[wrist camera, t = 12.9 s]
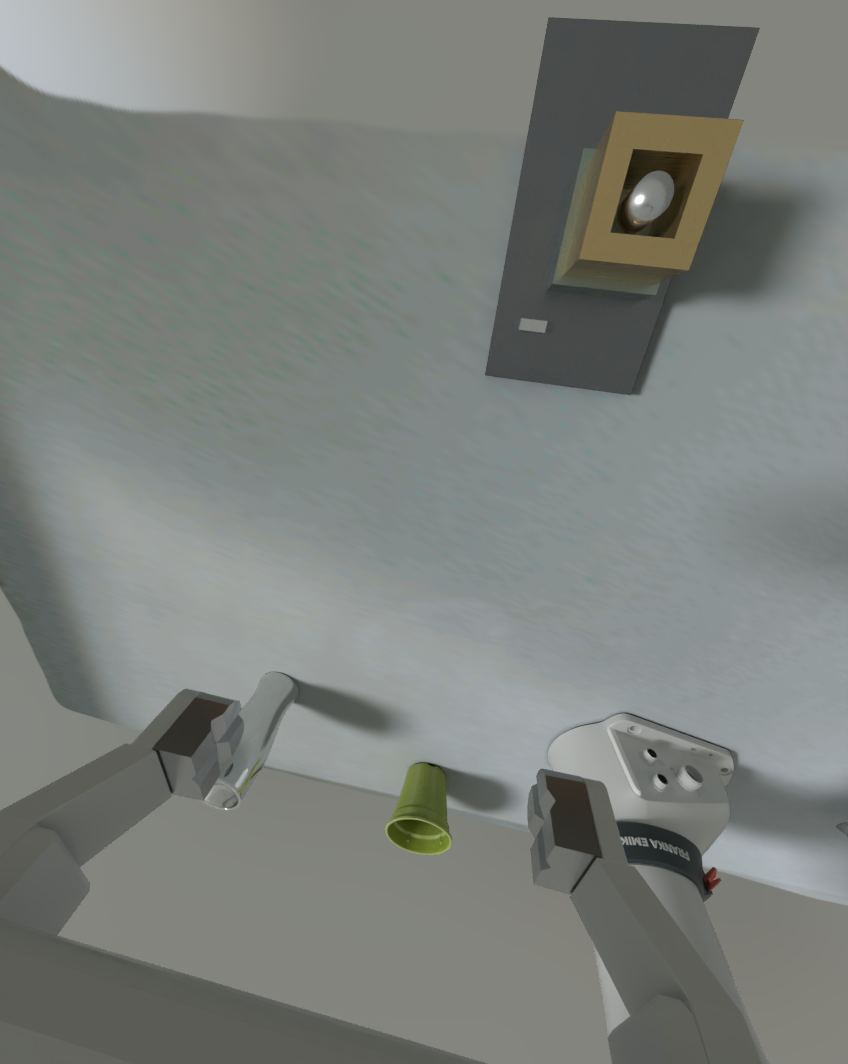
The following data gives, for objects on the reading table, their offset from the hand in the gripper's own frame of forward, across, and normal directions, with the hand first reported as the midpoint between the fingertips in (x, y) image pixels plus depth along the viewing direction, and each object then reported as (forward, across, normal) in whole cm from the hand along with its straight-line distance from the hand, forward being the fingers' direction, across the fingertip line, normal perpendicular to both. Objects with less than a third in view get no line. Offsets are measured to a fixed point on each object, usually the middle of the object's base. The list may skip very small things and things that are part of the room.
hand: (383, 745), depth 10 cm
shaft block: (+29, -8, -18) cm, 35 cm away
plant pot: (+29, -3, +51) cm, 59 cm away
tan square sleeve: (+26, -8, -18) cm, 32 cm away
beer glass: (+29, +21, +38) cm, 52 cm away
